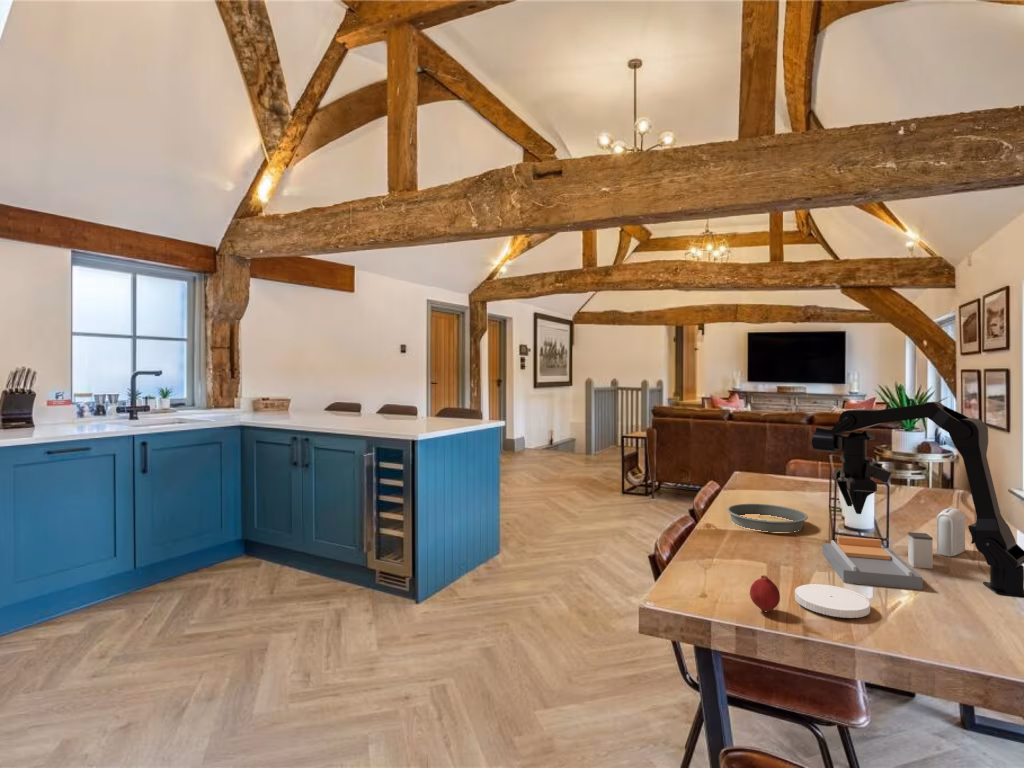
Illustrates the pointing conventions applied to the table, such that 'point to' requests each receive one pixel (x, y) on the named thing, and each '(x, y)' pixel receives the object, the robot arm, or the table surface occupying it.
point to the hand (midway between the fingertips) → (853, 509)
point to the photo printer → (950, 532)
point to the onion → (765, 594)
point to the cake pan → (766, 525)
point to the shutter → (862, 548)
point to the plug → (920, 550)
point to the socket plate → (872, 569)
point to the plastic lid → (832, 600)
